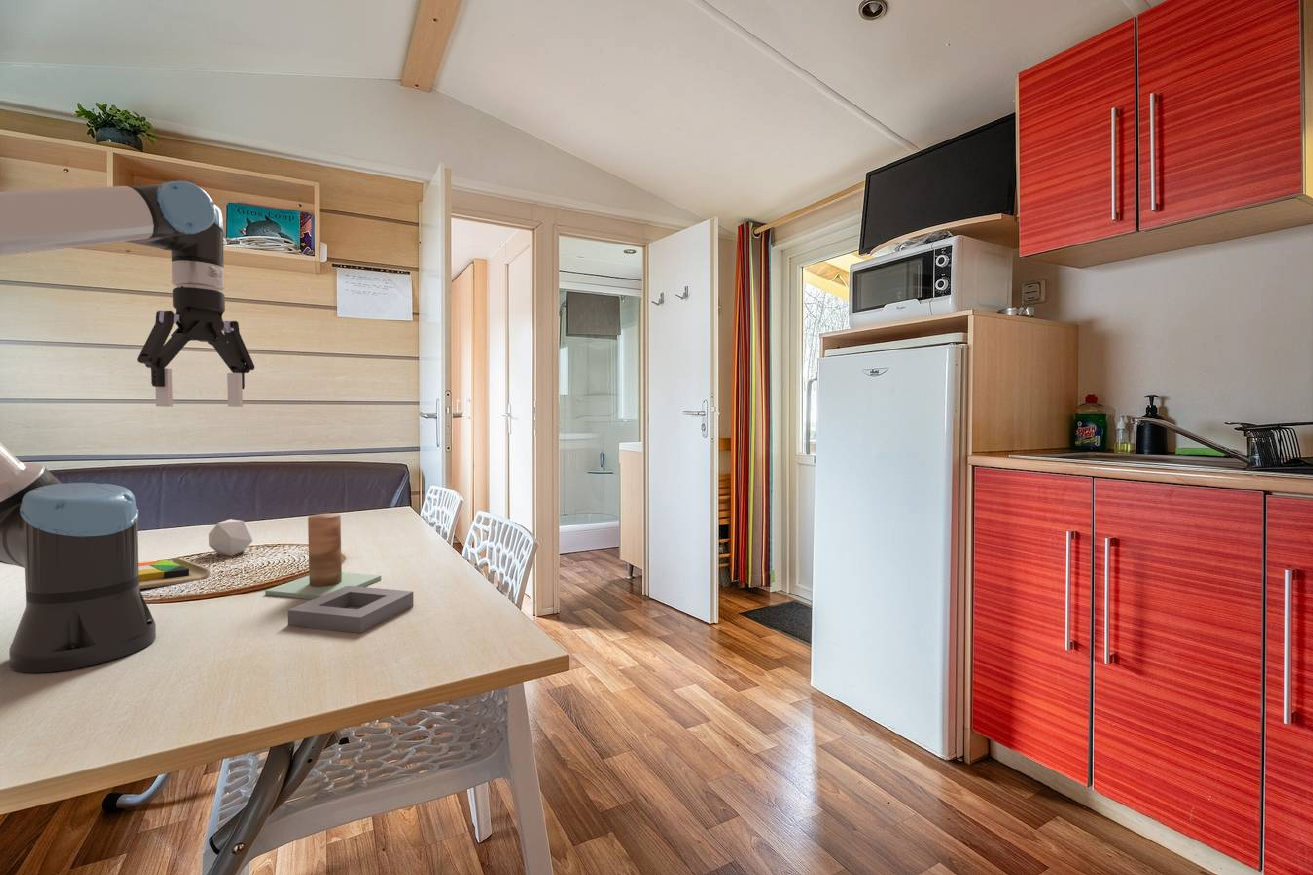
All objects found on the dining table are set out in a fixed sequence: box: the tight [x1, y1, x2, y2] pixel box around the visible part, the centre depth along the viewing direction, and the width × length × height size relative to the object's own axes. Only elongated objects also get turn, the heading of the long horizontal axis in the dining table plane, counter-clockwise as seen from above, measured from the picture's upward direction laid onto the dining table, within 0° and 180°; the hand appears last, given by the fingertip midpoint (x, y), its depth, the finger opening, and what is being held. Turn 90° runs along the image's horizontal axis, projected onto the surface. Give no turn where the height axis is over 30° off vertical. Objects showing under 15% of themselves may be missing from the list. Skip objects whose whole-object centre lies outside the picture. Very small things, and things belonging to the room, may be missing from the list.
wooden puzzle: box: [138, 557, 212, 590], centre depth 119 cm, size 18×19×4 cm
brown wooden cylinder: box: [307, 513, 343, 587], centre depth 117 cm, size 6×6×13 cm
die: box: [208, 519, 253, 557], centre depth 141 cm, size 8×9×10 cm
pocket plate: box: [286, 586, 414, 634], centre depth 102 cm, size 14×14×2 cm
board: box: [264, 571, 382, 600], centre depth 117 cm, size 14×14×1 cm
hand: (202, 406), depth 110 cm, fingers open, 13 cm apart
